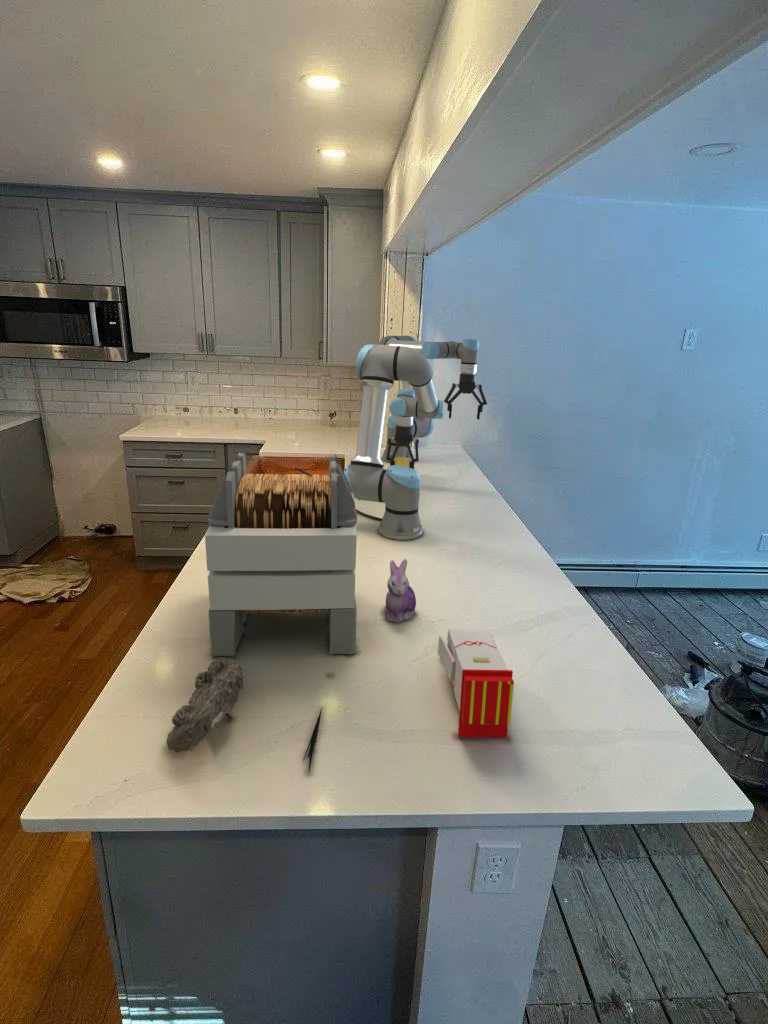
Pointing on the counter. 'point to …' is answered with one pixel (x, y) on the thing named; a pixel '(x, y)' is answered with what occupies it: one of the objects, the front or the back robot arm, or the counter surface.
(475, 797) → the counter surface
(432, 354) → the back robot arm
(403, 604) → the figurine
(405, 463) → the cylinder
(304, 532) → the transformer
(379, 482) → the front robot arm
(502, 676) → the toy
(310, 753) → the feather
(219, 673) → the fossil
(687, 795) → the counter surface
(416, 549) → the counter surface
